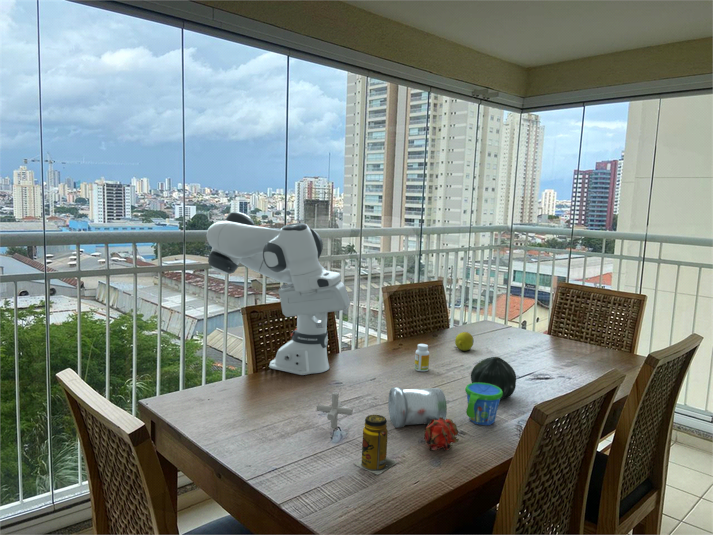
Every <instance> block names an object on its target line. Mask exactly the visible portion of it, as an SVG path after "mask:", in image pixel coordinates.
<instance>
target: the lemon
mask: <svg viewBox="0 0 713 535" xmlns="http://www.w3.org/2000/svg"><path fill="white" fill-rule="evenodd" d="M454 343H455V346H456V348H458V349H459V350H460V351H464V352H465V351H469V350H471V349H472V348H473V345H474V338H473V335H472V334H471V333H469V332H468V331H467V332H466V331H464V332H460V333H458V334H457V335H456V337H455V340H454Z"/></svg>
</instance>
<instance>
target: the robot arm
mask: <svg viewBox="0 0 713 535" xmlns="http://www.w3.org/2000/svg"><path fill="white" fill-rule="evenodd" d="M206 231H207V232H206V240H207V243H208V245H209V246H210V247H211V251H210V253H208V259H207V262H208V266H210V267H211V268H212V270H214V271H215V272H217V273H219V274H224V275H227V274H229V275H231V274H233V273H235V272H236V271H237V269H238V267H239V265H240V264H241V265H242V266H245V267H246V268H247V269H249V270H251V271H253V272H256V273H258V274H259V275H262V276H264V277H267V278H269V279H272V280H274V281H277V282H279V283H282V285H281V286H280V287H279V288H278V291H277V293H278V295H279V298H280V306H281V311H282V315H284V316H285V317H286V318H288V317H289V318H290V317H297V319H296V328H294V330H293V331H292V332H291V333H290V337H291V339H290V340H288V341H287V342H286V343H285V344H283V345H282V346H280V348H278V349H277V352H276V354H275V357H274V359H272V360H270V362H269V365H268V366H269V369H272V370H277V371H281V372H286V373H291V374H295V375H300V376H304V375H305V376H306V375H310V374H311V375H312V374H321V373H324V372H326V371H328V370H329V369H330V364H329V360H328V351H327V346H328V342H329V341H328V338H329V337H328V330H327V326H328V313H332V312H339V311H345V310H346V309H348V308H349V306H350V304H351V300H350V297H349V296H350V295H349V293H348V290H347V287H346V285H345V283H343V282H342V281H341V279H342V276H341V273H339V272H336V271H332V270H331V271H330V270H327V269H326V268H325V267H324V266H323V265H321V262H320V261H319V259H320V257H321V256H322V253H323V248H324V247H323V246H324V244H323V239H322V237H321V236H320V235H319V233H318V232H316V231H315V230H314V229H312V228H310V227H309V225H308V224H306V223H303V222H295V223H293V222H292V223H289V224H285V225H284V226H282V227H281V228H275V227H274V228H272V227H264V226H257V225H255V222H254V220H253V219H252V218H251V217H250V216H249V215H248V214H246V213H243V212H240V211H239V212H237V211H232V212H229V213H228V214H227V215H226V217H225V218H224V220H221V221H216V222H214V223H212V224H211V225H210V226H209V227H208V229H207V230H206Z"/></svg>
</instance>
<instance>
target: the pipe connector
mask: <svg viewBox="0 0 713 535" xmlns="http://www.w3.org/2000/svg"><path fill="white" fill-rule="evenodd" d="M339 395H340V394H339V392H337V391H333V392H332V393H331V405H326V404H325V405H324V404H317V405H316V412H322V413H327V416H326V418H327V420H329V421H330V428H331V429H337V428H338V420H339V419H338V417H339V416H338V414H339V415H345V416H353V413H354V412H353V411H354V410H353V408H350V407H349V408H348V407H342V401H341V400H339Z"/></svg>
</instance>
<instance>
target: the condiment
mask: <svg viewBox="0 0 713 535" xmlns="http://www.w3.org/2000/svg"><path fill="white" fill-rule="evenodd" d="M387 422H388V421H387V419H386V417H385V416H384V415H380V414H369V415H367V416H365V418H364V427H363V429H362V443H361V444H362V447H361V460H359V461H357V462H356V463H354V466H355V465H356V466H357V467H360V468H361V469H363V470H366V471H368V472H369V473H372V474H374V475H377V476H378V475H380V474H382V473H384V472H385V471H386V470H388V469H389V468H391V467H393V466H394V465H395V464H397V463H398V461H397V460H394V459H392V458H388V457H387V455H388V454H387V453H388V434H389V432H388V426H387Z"/></svg>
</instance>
